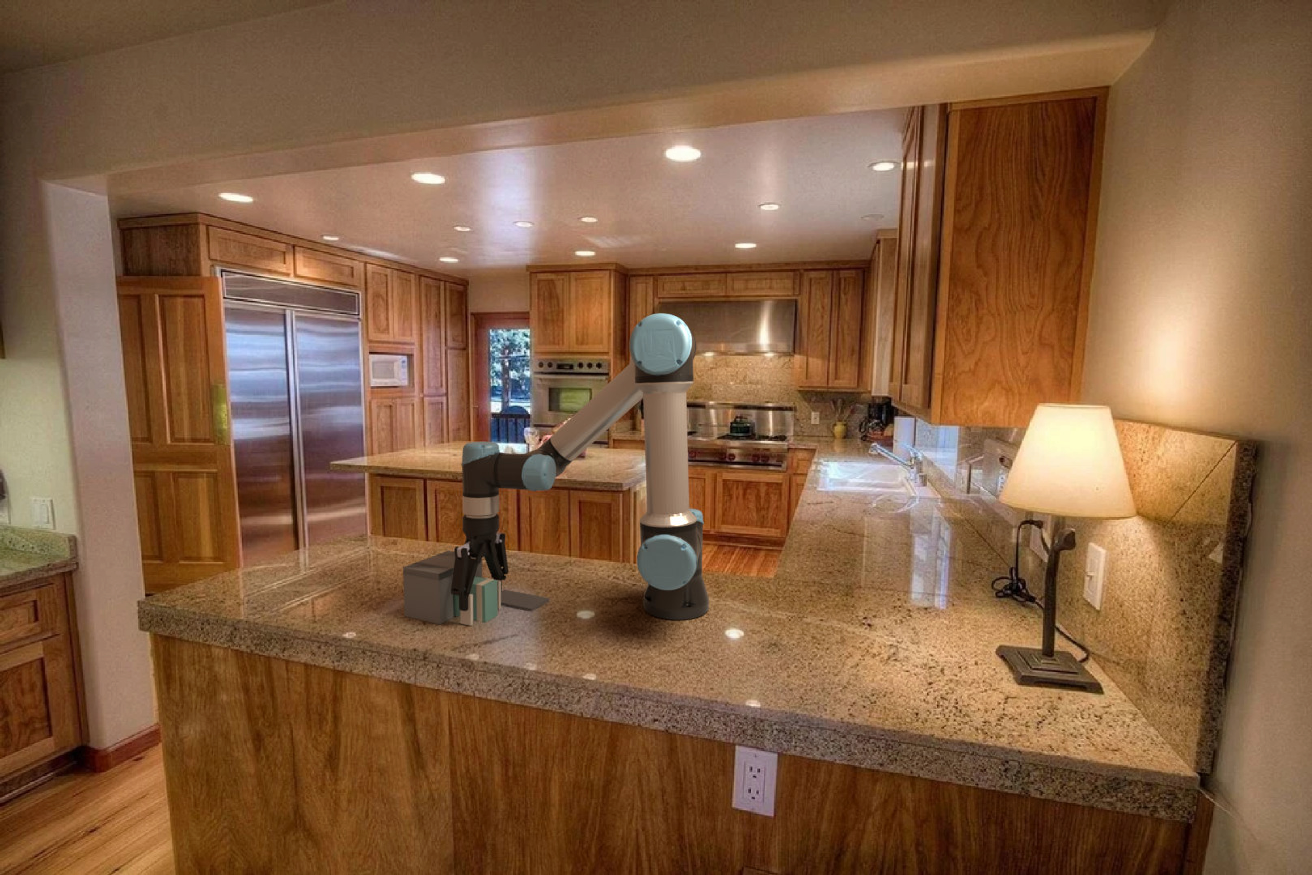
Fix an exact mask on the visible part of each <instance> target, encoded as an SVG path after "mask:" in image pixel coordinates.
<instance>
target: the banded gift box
mask: <svg viewBox="0 0 1312 875" xmlns="http://www.w3.org/2000/svg"><path fill="white" fill-rule="evenodd" d="M464 590H465V589H464ZM470 594H473V621H476V622H480V623H487V622H489V621H491V620H492V619H494V618H496V617H497V616H498V610H497V580H494V579H493V578H490V577H489V578H486V577H482V578H481V577H476V576H475V577H474V581H473V584H472V588H471V592H470ZM453 616H454V617H459V618H460V610H459V596H458V595H453Z"/></svg>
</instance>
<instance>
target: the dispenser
mask: <svg viewBox="0 0 1312 875" xmlns="http://www.w3.org/2000/svg"><path fill="white" fill-rule="evenodd" d="M471 558H472V559H476V558H473V557H471ZM454 563H455V553H454V550H446V551H443V552H441V553H438V554H435V555H432V556H429V557H427V558H425V559H421V560H419V561H416V562H414V563H411V564H409V565H405V566H403V567H402V574H403V575H402V576H403V577H402V578H403V580H402V581H403V605H404V606H403V607H404V608H403V609H404V613H403V614H404V617H405V618H411V619H416V620H420V621H424V622H427V623H432V624H436V625H441V624H443V623H446V622H447V621H450V620H451V619H453V618H454V617H455V616H453V594H451V586H452V579H453V571H454ZM475 576H476V577H481V578H483V559H482V560H481V563H480V564H478V567H477V570H476V574H475Z"/></svg>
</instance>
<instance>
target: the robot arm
mask: <svg viewBox="0 0 1312 875" xmlns="http://www.w3.org/2000/svg"><path fill="white" fill-rule="evenodd" d="M628 345H629V353H630V357H629V364H628V365H627V366H625V368H624V369H623V370H621V372H620V373H618V374H617V375H616V376H615V377H614V378H613V379H612V380H611V381H609V382H608V383H607V384H606V385H605V386H604V387H603V388H601V389H600V390H599V392H598V393H596V394H595V395H594V396H593V397H592V398H591V399H590V400H589V401H588V402H587V403H585V404H584V405H583V407H582V408H580V409H579V410H578V411H577V412H576V413H575V414H573V416H572V417H570V419H569V420H568V421H566V422H565V423H564V424H563V425H562V426H561V427H560V428H559V429H558V430H556V431H555V432H554V434H552V435H550V437H549V438H548V439H546V441H545V442H543V443H542V444H541V445H540V446H539V447H538V448H537V449H534V450H531V451H528V452H525V453H507V452H500V451H501V450H500V446H499V444H498V443H497V442H492V441H473V442H467V443H465V444H464V445H463V447H462V456H461V463H460V464H461V469H462V470H461V472H462V473H461V474H462V476H461V477H462V478H461V479H462V481H461V482H462V514H464V515H463V516H462V533H463V534H464V535H465V541H464V544H463V545H461V546H454V549H453V551H454V553H455V563H454V571H453V579H452V586H451V594H453V595H458V596H459V610H460V617H459V618H460V624H462V625H466V626H473V625H474V620H473V594H470V592H471V588H472V584H473V581H474V577H475V574H476V570H477V567H478V564H480V563H481V560H482V561H483V558H484V560H485V564H486V565H487V568H488V571H489V574H490V576H491V579H494V580H497V611H499V610H501V609H502V605H501V591H502V590H503V582H502V581H505V580H506V579H507V575H508V574H509V565H508V556H507V549H506V534H505V533H503V532H499V530H500V515H499V514H498V513H499V512H500V489H506V490H507V489H509V490H522V491H531V492H538V491H549V490H551V488H552V487H553V484H554V483H555V481H556V478H558V477H559V476H560V475H562V474H563V473H564V471H565V470H566V468H567V467H568V466H569V465H570V464H571V463H572V462H573V461H574V460H575V459H576V458H577V457H579V456H580V455H581V454H582V453H583V452H584V451H585V450H586V449H587V448H589V447H590V446H591V445H592V444H593V443H594V442H595V441H597V439H599V438H600V437H601V436H602V435H603V434H604V433H606V431H608V430H609V428H611V427H612V426H613V425H614V424H616V423H617V421H619V419H621V418H622V417H623V416H624V415H625V414H626V413H627V412H629V411H630V410H631V409H632V408H633V407H634V406H635V405H636V404H637V403H639V402H640V401H641V400H642V399H643V400H642V401H643V425H644V426H643V428H644V455H645V456H644V457H645V461H644V462H645V464H644V465H645V483H646V484H645V489H646V493H645V494H646V495H645V496H646V511H645V513H644V514H643V515H642V516H641V517H640V519H639V531H640V538H639V540H640V546H639V547H638V551H637V555H636V565H637V570H638V572H639V574H640V576H641V578H642V579H643V580H644V581H645V582H646V583H647V585H646V588H645V591H644V594H643V601H642V602H643V603H642V605H643V606H642V607H643V609H644V610H645V612H647V613H648V614H649V615H651V616H653V617H657V618H660V619H665V620H673V621H674V620H675V621H677V620H679V621H680V620H681V621H684V620H691V619H696V618H699V617H701V616H703V615H705V614H707V613H708V611H709V610H710V598H709V594H708V591H707V588H706V584H705V581H704V578H703V536H704V535H703V532H704V525H705V522H704V515H703V513H702V511H701V510H699V509H695V508H690V490H689V489H690V488H689V487H690V486H689V485H690V483H689V454H688V452H689V451H688V450H689V449H688V414H687V410H688V409H687V392H688V390H689V389H690V388H691V387H692V386H693V384H694V381H695V380H694V360H695V357H696V352H697V341H696V338H695V335H694V333H693V331H692V330H691V329H690V328H689V326H688V324H686V323H685V321H683V319H681V318H680V317H678V316H675V315H673V314H670V313H662V312H661V313H653V314H651V315H648V316H646V317H644V318H642V319H641V320H640V321H639V322H638V323H637V324H636V325H635V326H634V328H633V330H632V332H631V334H630V337H629V344H628ZM471 557H473V558H476V559H472V558H471ZM464 589H465V590H464Z"/></svg>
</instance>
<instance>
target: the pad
mask: <svg viewBox="0 0 1312 875" xmlns="http://www.w3.org/2000/svg"><path fill="white" fill-rule="evenodd" d="M549 601H550V597H545V596H540V595H534V594H529V593H525V592H520V591H519V592H518V591H515V590H508V589H502V591H501V607H502V606H503V607H508V608H513V609H518V610H523V611H528V612H533V611H535V610H536V609H538V608H540V607H541V606H543V605H545V604H546V603H548V602H549Z"/></svg>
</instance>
